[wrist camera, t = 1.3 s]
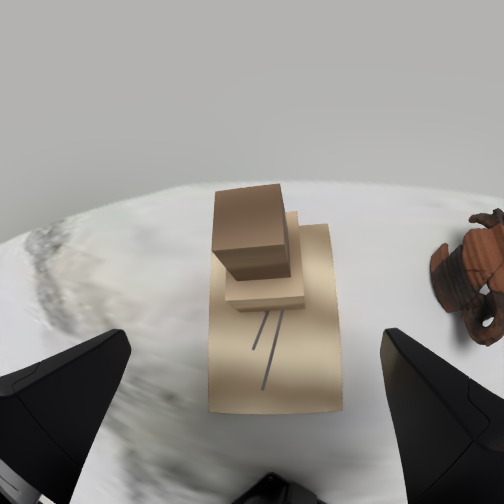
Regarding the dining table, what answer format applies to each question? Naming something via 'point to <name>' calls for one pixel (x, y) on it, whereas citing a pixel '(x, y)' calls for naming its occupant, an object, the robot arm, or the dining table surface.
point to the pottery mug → (474, 277)
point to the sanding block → (258, 249)
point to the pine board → (278, 343)
